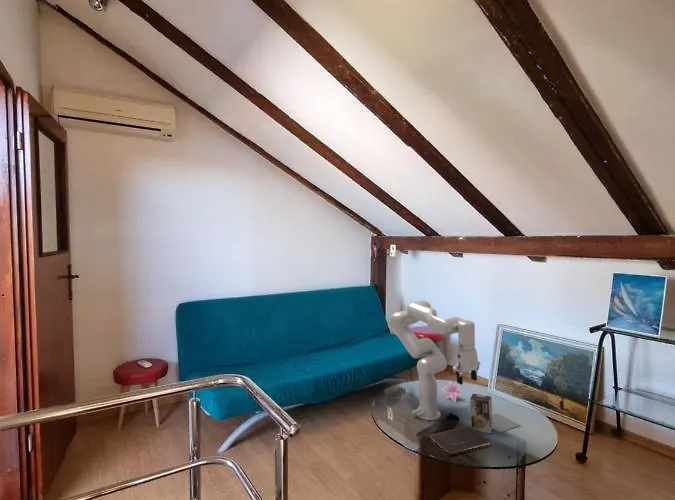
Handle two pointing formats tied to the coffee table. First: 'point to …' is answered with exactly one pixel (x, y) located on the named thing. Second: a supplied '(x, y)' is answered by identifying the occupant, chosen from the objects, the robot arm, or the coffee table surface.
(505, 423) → the slate mat
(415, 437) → the coffee table surface
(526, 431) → the coffee table surface
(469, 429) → the hardcover book
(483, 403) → the coffee box
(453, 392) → the lily
